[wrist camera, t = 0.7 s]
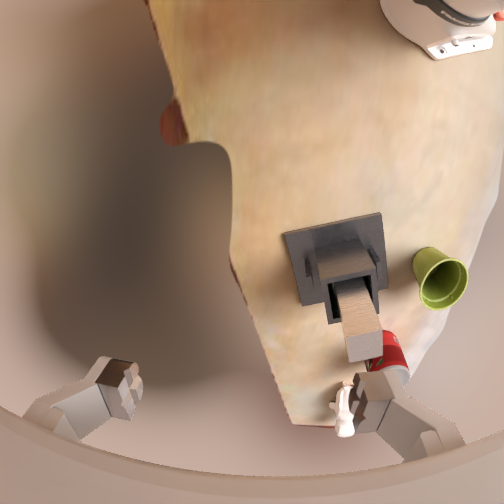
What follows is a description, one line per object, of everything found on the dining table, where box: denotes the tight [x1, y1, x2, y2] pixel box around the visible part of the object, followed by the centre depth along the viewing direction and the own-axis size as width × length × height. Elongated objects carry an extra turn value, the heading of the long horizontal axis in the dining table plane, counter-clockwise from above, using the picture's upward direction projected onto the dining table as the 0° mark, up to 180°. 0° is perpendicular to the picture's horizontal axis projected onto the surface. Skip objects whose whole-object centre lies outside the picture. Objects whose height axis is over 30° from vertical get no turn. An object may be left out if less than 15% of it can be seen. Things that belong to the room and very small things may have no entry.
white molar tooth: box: [329, 381, 355, 437], centre depth 61 cm, size 9×8×15 cm
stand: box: [285, 212, 388, 324], centre depth 44 cm, size 16×14×13 cm
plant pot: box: [413, 247, 468, 310], centre depth 44 cm, size 9×9×9 cm
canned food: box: [364, 330, 410, 387], centre depth 51 cm, size 8×8×11 cm
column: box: [332, 276, 383, 363], centre depth 39 cm, size 4×5×20 cm
